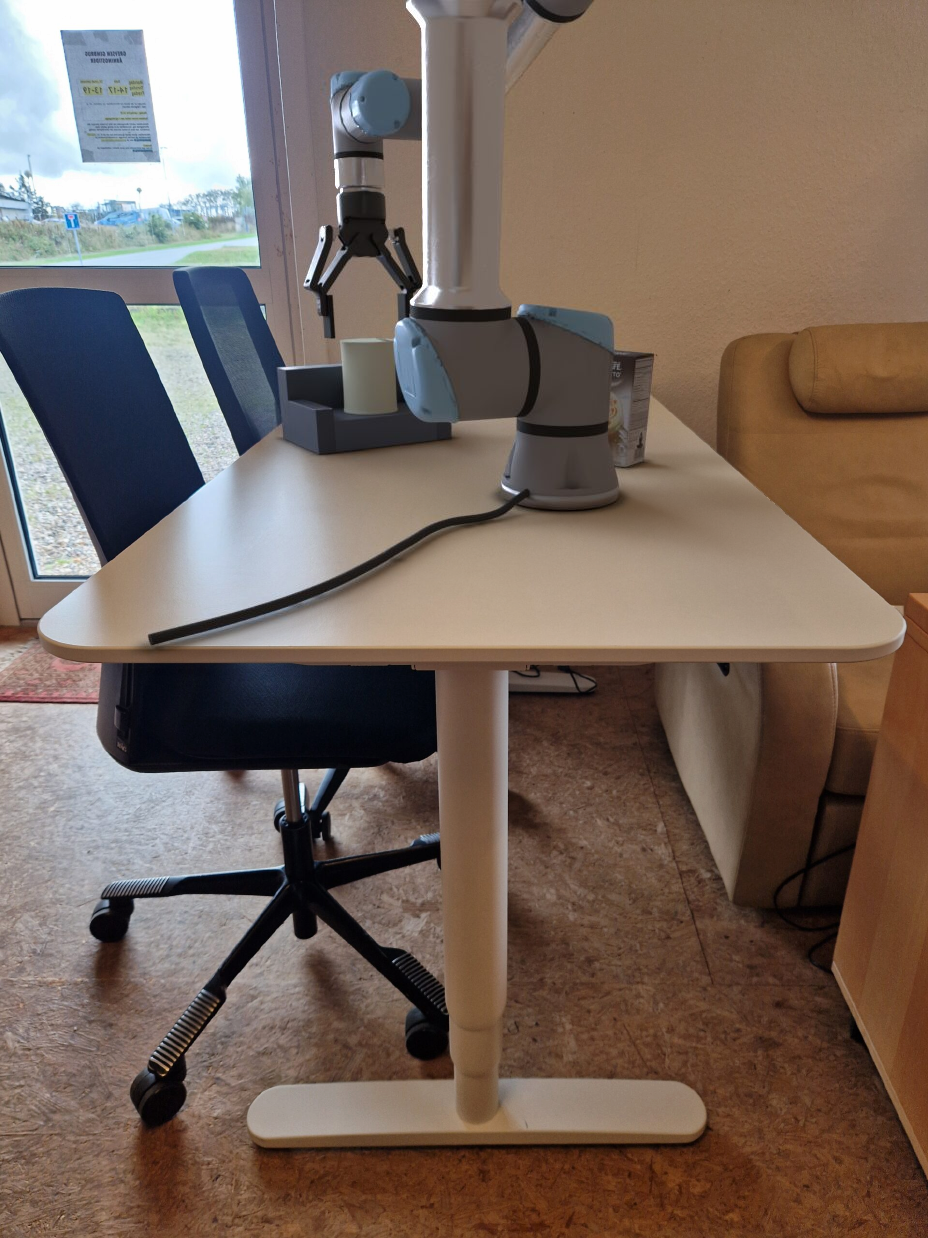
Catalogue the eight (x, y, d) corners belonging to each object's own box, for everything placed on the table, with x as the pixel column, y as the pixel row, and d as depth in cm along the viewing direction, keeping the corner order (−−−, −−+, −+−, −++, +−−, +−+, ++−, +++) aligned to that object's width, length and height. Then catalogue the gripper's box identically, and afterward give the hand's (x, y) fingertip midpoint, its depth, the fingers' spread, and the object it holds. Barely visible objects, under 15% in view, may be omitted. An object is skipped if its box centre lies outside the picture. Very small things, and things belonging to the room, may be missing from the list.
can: (384, 416, 135) (381, 339, 130) (334, 413, 137) (329, 338, 133) (406, 407, 143) (403, 335, 138) (358, 405, 145) (354, 334, 141)
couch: (451, 438, 143) (451, 367, 139) (318, 454, 131) (313, 377, 126) (408, 424, 156) (406, 358, 151) (283, 438, 144) (276, 367, 139)
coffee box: (573, 459, 127) (579, 351, 121) (595, 452, 132) (601, 348, 125) (626, 468, 122) (635, 355, 115) (646, 460, 126) (656, 351, 120)
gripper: (419, 197, 136) (422, 332, 144) (275, 190, 124) (287, 338, 132) (442, 193, 130) (444, 334, 138) (293, 185, 118) (305, 340, 126)
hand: (368, 336), depth 135 cm, fingers open, 13 cm apart
